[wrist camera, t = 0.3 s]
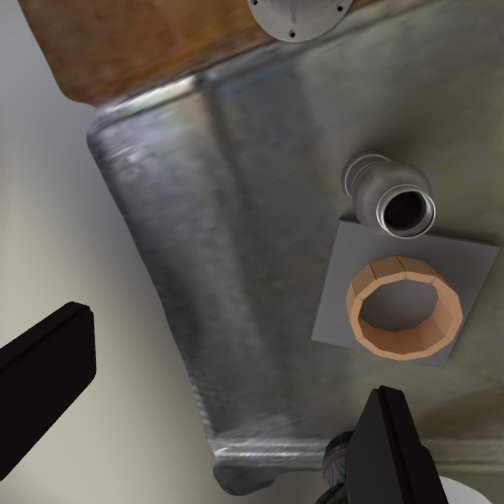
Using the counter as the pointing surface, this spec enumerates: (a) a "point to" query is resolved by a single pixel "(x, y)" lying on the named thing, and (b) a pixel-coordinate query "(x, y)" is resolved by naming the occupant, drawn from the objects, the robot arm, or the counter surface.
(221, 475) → the counter surface
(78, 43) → the counter surface
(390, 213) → the plastic bottle
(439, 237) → the duct base
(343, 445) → the beer stein
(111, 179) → the counter surface
